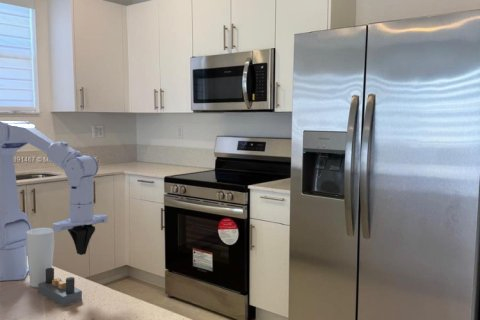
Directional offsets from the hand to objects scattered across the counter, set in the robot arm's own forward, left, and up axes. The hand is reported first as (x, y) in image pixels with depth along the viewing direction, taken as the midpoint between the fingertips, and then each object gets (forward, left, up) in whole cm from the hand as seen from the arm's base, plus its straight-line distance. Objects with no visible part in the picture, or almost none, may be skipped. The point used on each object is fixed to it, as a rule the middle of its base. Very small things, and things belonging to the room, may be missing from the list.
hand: (81, 253), depth 110 cm
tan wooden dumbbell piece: (+2, -5, -8) cm, 9 cm away
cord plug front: (+6, -2, -8) cm, 10 cm away
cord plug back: (-2, -8, -8) cm, 11 cm away
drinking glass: (-7, -11, -11) cm, 17 cm away
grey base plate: (+2, -5, -10) cm, 12 cm away
